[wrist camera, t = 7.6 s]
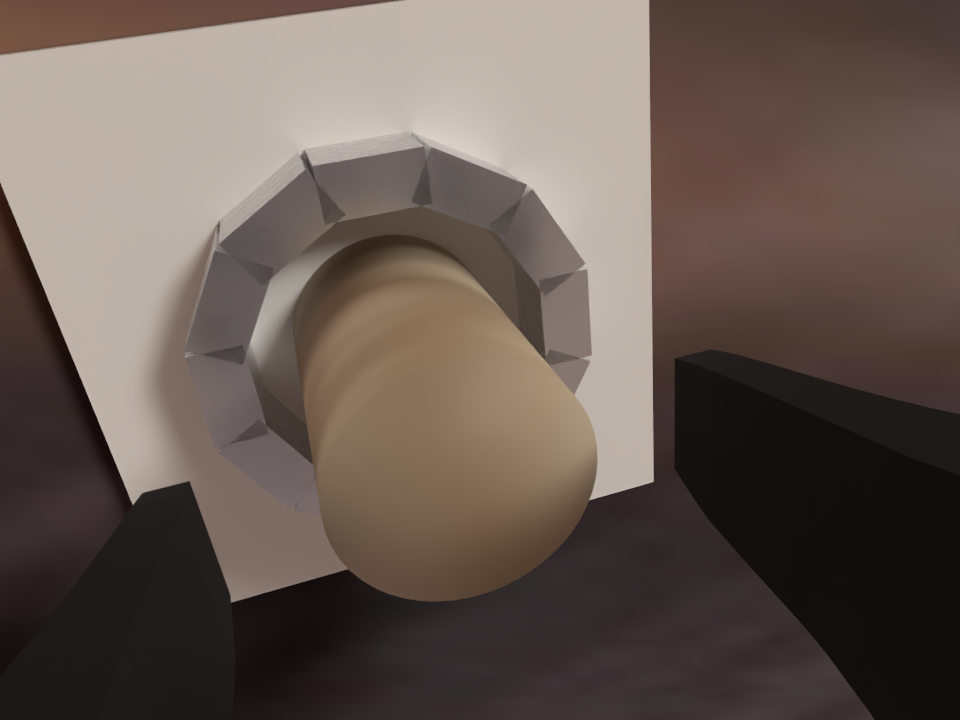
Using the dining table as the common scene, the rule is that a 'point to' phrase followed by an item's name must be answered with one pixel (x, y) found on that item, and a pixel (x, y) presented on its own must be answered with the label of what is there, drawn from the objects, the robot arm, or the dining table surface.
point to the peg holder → (329, 225)
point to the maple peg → (434, 425)
